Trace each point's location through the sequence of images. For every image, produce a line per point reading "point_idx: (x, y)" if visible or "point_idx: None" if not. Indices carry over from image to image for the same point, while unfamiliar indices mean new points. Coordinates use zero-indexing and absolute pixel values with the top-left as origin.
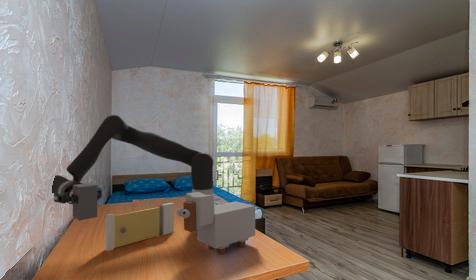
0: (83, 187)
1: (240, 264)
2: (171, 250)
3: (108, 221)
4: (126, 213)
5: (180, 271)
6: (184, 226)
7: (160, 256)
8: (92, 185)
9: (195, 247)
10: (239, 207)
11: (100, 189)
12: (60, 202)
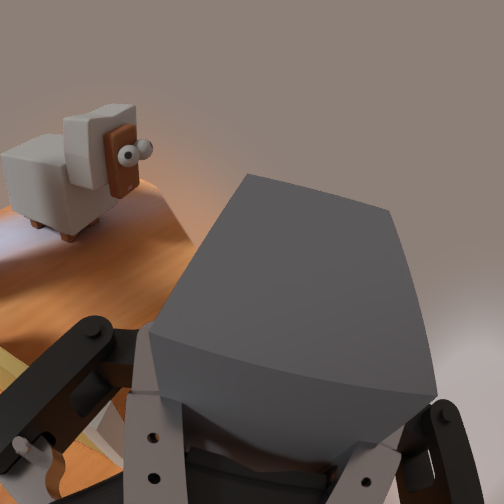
0: (356, 207)
1: (128, 197)
2: (88, 294)
3: (116, 414)
4: (23, 371)
5: (176, 242)
6: (123, 190)
7: (126, 297)
8: (282, 186)
9: (67, 261)
10: (56, 138)
11: (32, 374)
12: (425, 460)
